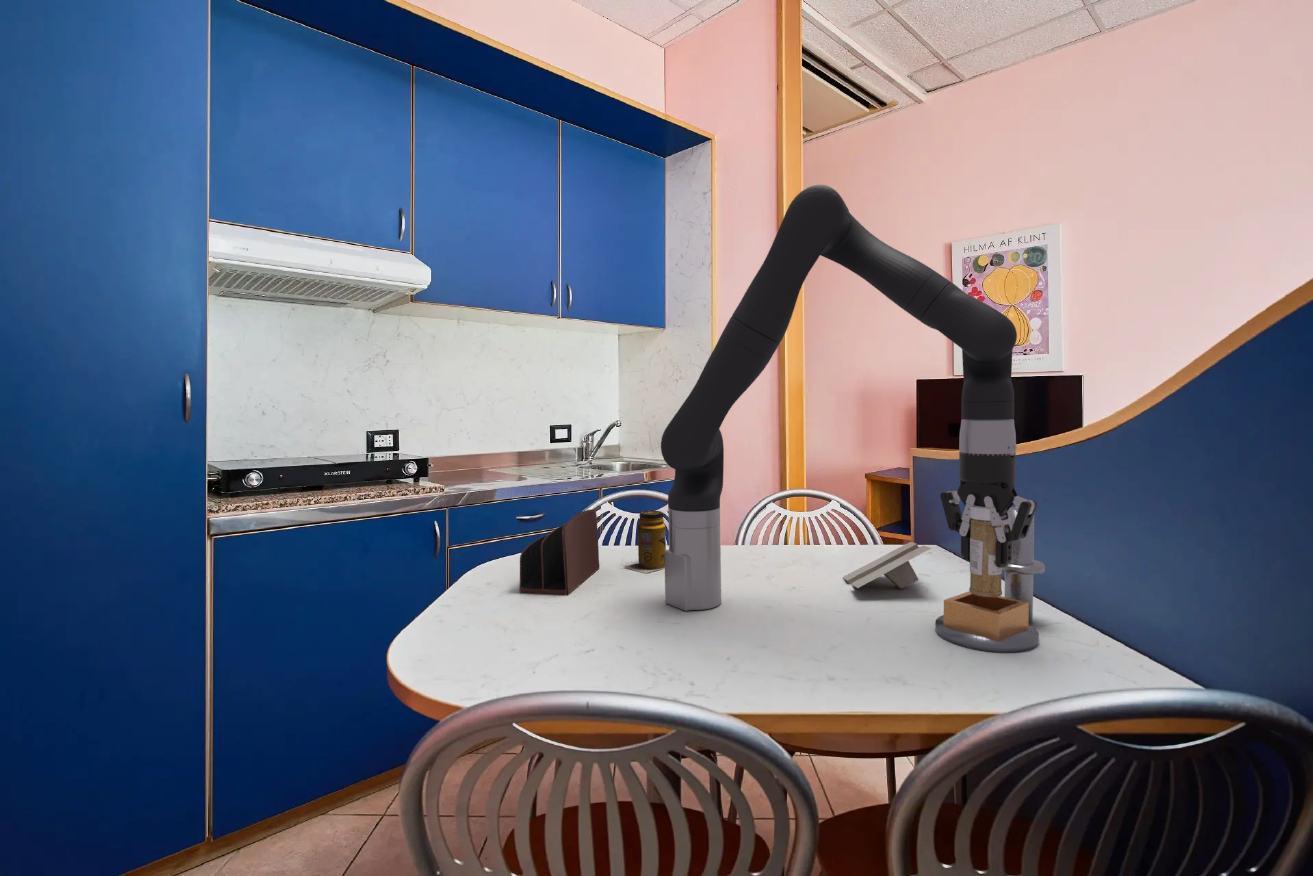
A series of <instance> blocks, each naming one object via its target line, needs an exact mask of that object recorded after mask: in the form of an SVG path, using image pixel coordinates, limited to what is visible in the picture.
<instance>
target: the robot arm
mask: <svg viewBox="0 0 1313 876" xmlns="http://www.w3.org/2000/svg"><path fill="white" fill-rule="evenodd" d="M772 241H773V242H772V245H771V247H770V248H769V251H768V253H767V254H766V257H765V259H764V261H763V262H762V264H761V266H760V267H759V269H758V271H757V273H756V274H755V275H754V276H753V277H754V278H753V279H752V280H751V282H750V284H749V286H748V287H747V289H746V291H745V292H744V295H743V296H742V298H741V300H740V302H739V303H738V305H737V306H736V308H735V310H734V311H733V313H732V315H731V317H730V318H729V320H728V322H727V323H726V324H725V327H724V329H723V331H722V333H721V334H720V337H719V338H718V340H717V343H716V344H715V346H714V348H713V350H712V351H711V353H710V355H709V357H708V359H707V361H706V363H705V365H704V367H703V368H702V371H701V372H700V375H699V377H698V379H697V381H696V383H695V385H694V386H693V388H692V389H691V391H690V393H689V395H688V396H687V397H686V399H685V400H684V402H683V403H682V404H681V406H680V407H679V409H678V410H677V411H676V413H675V414H674V416H673V417H672V419H671V420H670V421H669V423H668V424H667V425H666V428H665V429H664V431H663V433H662V436H661V440H660V441H661V442H660V452H661V455H662V458H663V460H664V462H665V464H667V465H668V466H669V467H670V468H672V469H673V470H674V480H673V483H672V486H671V487H670V490H669V491H668V494H667V508H668V511H667V513H668V515H667V516H668V519H667V520H668V549H666V551H665V552H664V559H665V569H664V597H665V600H664V603H665V604H668V605H670V606H673V607H675V608H677V609H680V610H682V611H685V612H688V611H696V610H697V611H698V610H699V611H702V610H708V609H713V608H716V607H718V606H720V605H721V604H722V561H721V559H722V557H721V554H722V553H721V550H722V549H721V546H722V545H721V496H722V493H723V488H724V487H723V486H724V463H725V462H724V459H725V457H724V456H725V455H724V454H725V453H724V452H725V451H724V450H725V449H724V447H725V446H724V439H723V435H722V432H721V429H720V428H721V426H722V424H723V423H724V420H725V419H726V417H727V415H728V413H729V411H730V410H731V408H732V407H733V406H734V405H735V403H736V402H737V401H738V400H739V399H740V397H741V396H743V394H744V393H745V392H746V391H747V390H748V389H749V388H750V386H751V385H752V384H753V383H754V382H755V381H756V380H757V379H758V377H759V376H760V375H761V374H762V373H763V371H764V370H765V369H766V367H767V365H768V364H769V363H770V362H771V359H772V357H773V356H774V354H775V353H776V350H777V349H778V348H779V346H780V343H781V342H782V340H783V338H784V337H785V335H786V332H787V330H788V328H789V326H790V322H791V320H792V317H793V314H794V311H795V308H796V305H797V300H798V297H799V295H800V292H801V289H802V288H803V284H804V282H805V280H806V278H807V277H808V275H809V273H810V271H811V270H812V268H813V267H814V265H815V264H816V262H817V261H818V260H819V258H820V256H821V257H824V258H825V259H828V260H830V261H832V262H833V263H836V264H838V265H840V266H842V267H844V268H846V269H847V270H849V271H851V272H852V273H854V274H855V275H857V276H858V277H860V278H862V279H863V280H864V281H866V282H867V283H868V284H870V285H871V286H872V287H874V288H875V289H876V290H877V291H879V292H880V293H882V295H884V296H885V297H886V298H887V299H888V300H890V301H891V302H893V303H894V304H895V305H897V306H898V307H899V308H901V310H904V312H906V313H907V314H908V315H910V316H911V317H913V318H915V319H916V320H918V321H919V322H920V323H922V324H924V325H925V326H927V327H928V328H930V329H933V330H936V331H938V332H939V333H940V334H942V335H943V336H945V338H947V339H948V340H949V341H951V342H952V343H954V344H955V345H956V346H958V347H959V348H960V349H961V355H962V356H961V357H962V374H963V385H962V390H961V414H960V415H961V422H960V428H959V443H958V444H959V447H958V449H959V450H958V454H959V458H958V467H959V469H958V478H959V480H960V483H959V486H958V487H957V490H949V491H943V492H941V493H940V496H939V497H940V500H941V505H942V508H943V513H944V515H945V518H946V519H945V520H946V523H947V526H948V528H949V530H951V531H955V532H957V533H958V534H959V536H960V553H961V557H963V560H964V561H967V562H970V537H971V534H970V533H971V518H970V513H971V507H974V506H980V507H986V508H987V509H989V510H990V520H991V524H992V526H993V527H994V528H995V531H996V535H997V538H998V541H999V542H996V566H997V567H1001V568H1003V567H1006V566H1007V565H1008V563H1010V562H1011V560H1012V542H1013V541H1014V540H1018V539H1022V538H1025V537H1026V536H1027V533H1028V530H1029V527H1030V524H1031V521H1032V519H1033V516H1034V517H1035V512H1036V510H1037V508H1038V502H1037V501H1036V500H1034V499H1026V498H1024V497H1021V496H1019V495H1018V493H1017V491H1016V487H1015V482H1016V454H1017V452H1016V451H1017V439H1016V438H1017V434H1016V428H1015V420H1014V419H1015V390H1014V385H1013V382H1012V369H1013V368H1012V367H1013V350H1014V348H1015V346H1016V343H1017V339H1018V335H1017V334H1018V332H1017V328H1016V327H1015V325H1014V323H1013V322H1012V320H1011V319H1010V318H1008V317H1007V316H1006V315H1005V314H1003V313H1002V312H1000V311H999V310H997V309H995V308H994V307H993V306H990V305H988V304H987V303H986V302H984V301H982V300H979V299H978V298H976V297H974V296H972V295H970V294H969V293H967V292H965V291H964V290H962V289H961V288H959V287H958V285H956V284H955V283H953V282H952V281H951V280H949V279H948V278H946V277H945V276H944V275H942V274H940V273H939V272H937V271H936V270H934V269H933V268H931V267H929V266H928V265H927V264H925V263H923V262H920V261H919V260H917V259H916V258H913V257H911V256H910V255H907V254H906V253H904V252H903V251H900V250H898V249H896V248H894V247H892V246H890V245H888V244H887V243H885V242H884V241H883V240H881V239H879V238H878V237H877V236H875V235H874V234H873V233H871V232H870V231H869V230H868V229H867V228H866V227H864V225H862V223H860V222H859V221H858V220H857V219H856V217H854V216H853V214H852V213H851V212H850V210H849V208H848V206H847V204H846V202H845V200H844V199H843V197H842V196H841V195H840V193H839V192H838V191H837V190H836V189H834V188H833V187H831V186H829V185H826V184H815V185H811V186H808V187H806V188H805V189H803V190H802V191H800V192H799V193H797V195H796V196H795V197H794V198H793V200H792V201H791V202H790V204H789V205H788V208H787V210H786V212H785V214H784V216H783V219H782V221H781V223H780V226H779V228H778V230H777V232H776V234H775V237H774V239H773V240H772ZM960 502H962V504H963V505H964V506H965V507H964V510H963V512H962V511H961V507H960ZM1013 505H1014V508H1015V511H1016V512H1017V516H1016V519H1015V521H1014V524H1013V527H1011V523H1012V521H1011V517H1010V514H1009V509H1010V508H1012V507H1013ZM992 512H993V513H992ZM962 513H963V514H962ZM1001 516H1003V520H1001V519H1000V517H1001Z"/></svg>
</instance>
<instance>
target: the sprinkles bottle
mask: <svg viewBox="0 0 1313 876" xmlns="http://www.w3.org/2000/svg"><path fill="white" fill-rule="evenodd" d="M992 513H993V512H992ZM970 518H971V533H970V534H971V537H970V561H969V571H970V573H969V574H970V575H969V576H970V578H969V580H970V582H969V585H970V586H969V588H968V590H969V591H970V592H971V593H972V594H974V595H976V596H980V597H987V598H992V597H999V596H1002V595H1003V590H1002V573H1003V571H1002V568H1001V567H997V566H996V542H999V541H998V538H997V535H996V531H995V528H994V527H993V526H992V524H991V520H990V510H989V509H987V508H986V507H980V506H974V507H971V513H970ZM1000 519H1001V520H1003V516H1001V517H1000ZM969 591H968V592H969Z"/></svg>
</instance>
